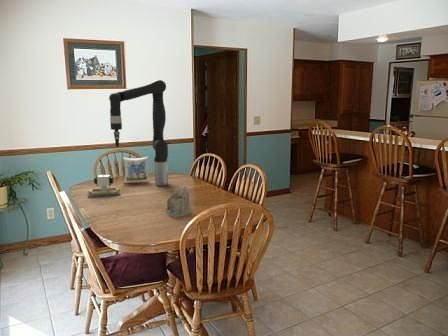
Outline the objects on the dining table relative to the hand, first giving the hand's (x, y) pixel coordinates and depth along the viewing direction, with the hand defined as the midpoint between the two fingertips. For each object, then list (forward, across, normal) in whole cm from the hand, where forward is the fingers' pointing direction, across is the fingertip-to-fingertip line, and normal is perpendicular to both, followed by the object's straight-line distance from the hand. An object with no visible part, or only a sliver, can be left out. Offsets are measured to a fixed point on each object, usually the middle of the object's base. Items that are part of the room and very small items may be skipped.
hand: (117, 145), depth 265 cm
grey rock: (+30, -70, -29) cm, 81 cm away
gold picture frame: (+30, -15, +10) cm, 35 cm away
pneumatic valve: (+29, -15, +10) cm, 34 cm away
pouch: (+30, +14, -13) cm, 36 cm away
